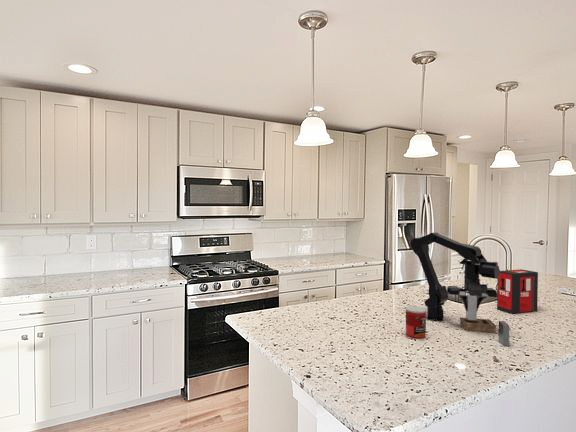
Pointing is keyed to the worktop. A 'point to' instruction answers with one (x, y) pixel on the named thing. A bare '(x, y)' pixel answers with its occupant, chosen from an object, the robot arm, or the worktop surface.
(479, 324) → the brown wooden slotted frame
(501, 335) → the grey rectangular block
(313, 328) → the worktop surface
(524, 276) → the cleaning product box
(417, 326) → the canned food
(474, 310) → the square bit
